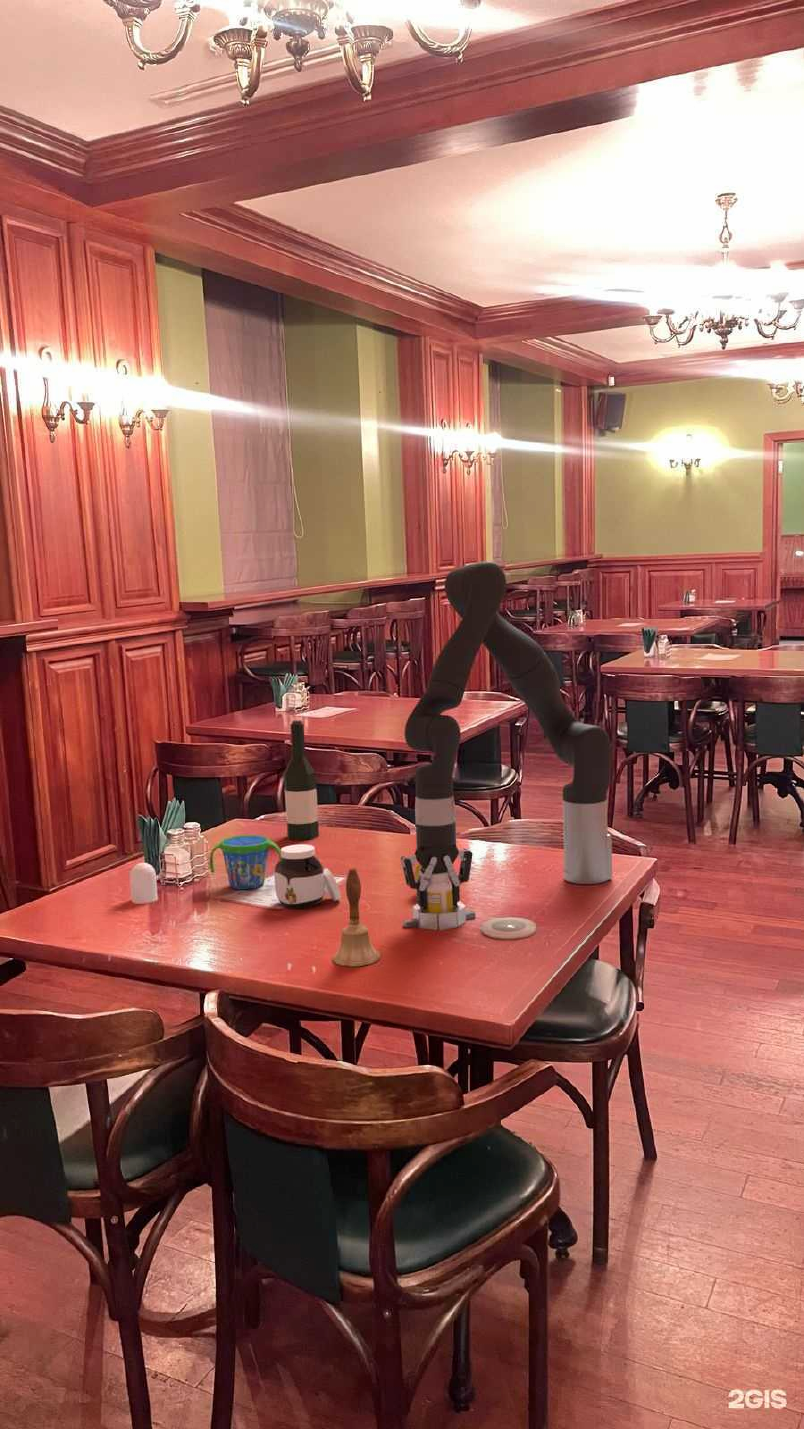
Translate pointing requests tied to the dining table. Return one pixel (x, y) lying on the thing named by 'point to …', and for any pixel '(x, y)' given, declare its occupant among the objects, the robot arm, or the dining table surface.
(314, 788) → the wine bottle
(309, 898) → the spread jar
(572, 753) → the robot arm
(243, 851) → the snack cup
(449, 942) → the dining table surface
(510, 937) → the plate
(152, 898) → the white domed cylinder
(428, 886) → the supplement bottle
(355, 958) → the hand bell
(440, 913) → the collar
